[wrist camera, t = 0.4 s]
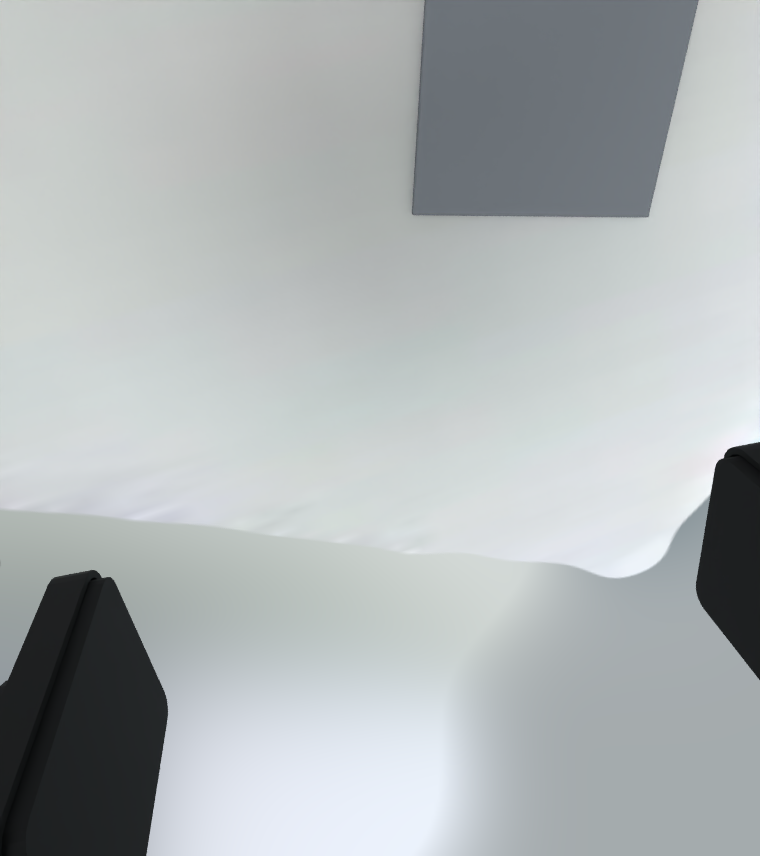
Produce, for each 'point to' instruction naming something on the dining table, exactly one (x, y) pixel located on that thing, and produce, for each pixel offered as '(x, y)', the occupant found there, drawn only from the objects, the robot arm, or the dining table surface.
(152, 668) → the robot arm
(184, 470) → the dining table surface
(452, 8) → the mat
